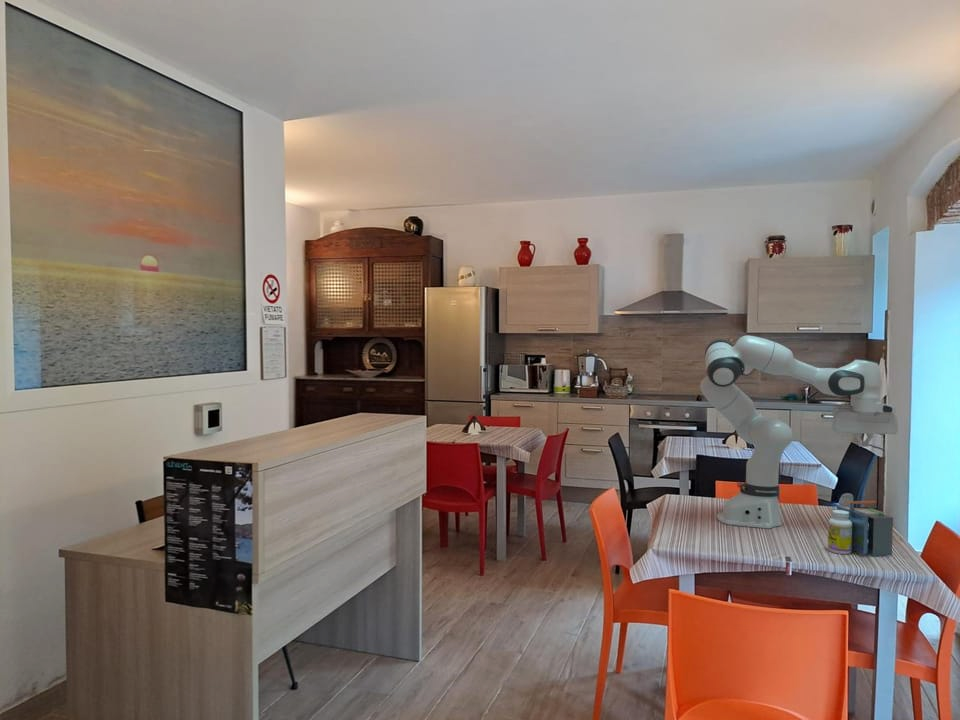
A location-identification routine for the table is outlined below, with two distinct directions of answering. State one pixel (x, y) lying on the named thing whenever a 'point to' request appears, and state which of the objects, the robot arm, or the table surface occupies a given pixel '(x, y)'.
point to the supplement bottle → (840, 533)
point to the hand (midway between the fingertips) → (863, 446)
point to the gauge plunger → (858, 526)
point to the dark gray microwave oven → (878, 532)
